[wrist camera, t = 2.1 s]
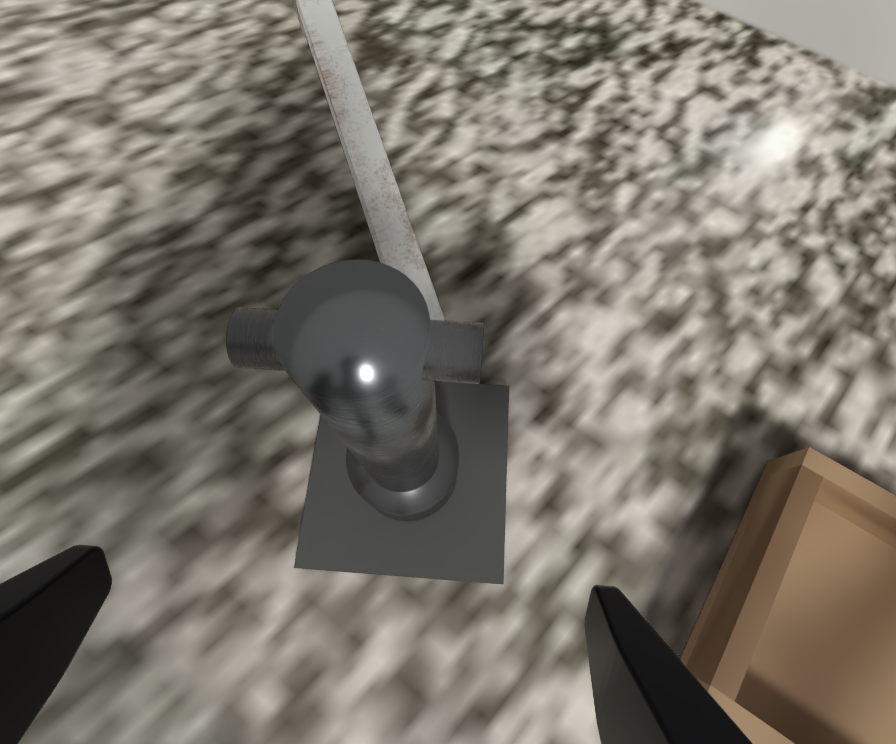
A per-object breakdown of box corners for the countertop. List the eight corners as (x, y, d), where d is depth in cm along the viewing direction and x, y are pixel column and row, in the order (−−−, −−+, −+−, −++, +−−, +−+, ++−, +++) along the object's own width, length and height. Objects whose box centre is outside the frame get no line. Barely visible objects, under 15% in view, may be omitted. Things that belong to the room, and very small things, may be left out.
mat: (502, 584, 19) (503, 584, 19) (296, 567, 19) (293, 567, 19) (508, 388, 22) (509, 385, 22) (329, 376, 22) (327, 373, 22)
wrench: (418, 393, 25) (279, -34, 32) (452, 382, 25) (306, -40, 33) (412, 342, 17) (231, -204, 25) (462, 328, 18) (268, -210, 25)
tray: (1021, 608, 19) (1105, 614, 16) (955, 896, 16) (1047, 956, 13) (767, 460, 21) (809, 447, 18) (666, 690, 18) (700, 709, 15)
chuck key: (465, 427, 21) (489, 234, 9) (458, 525, 20) (478, 453, 7) (362, 420, 21) (248, 219, 9) (348, 517, 20) (190, 432, 8)
